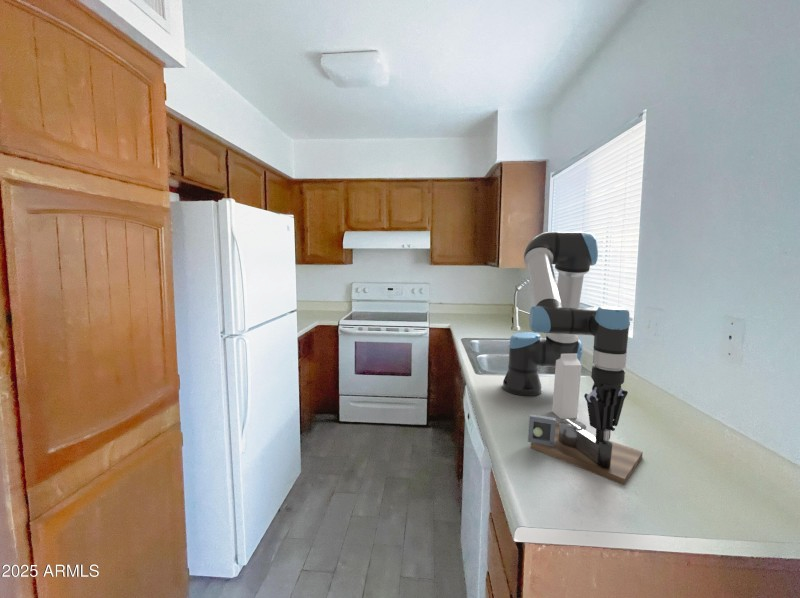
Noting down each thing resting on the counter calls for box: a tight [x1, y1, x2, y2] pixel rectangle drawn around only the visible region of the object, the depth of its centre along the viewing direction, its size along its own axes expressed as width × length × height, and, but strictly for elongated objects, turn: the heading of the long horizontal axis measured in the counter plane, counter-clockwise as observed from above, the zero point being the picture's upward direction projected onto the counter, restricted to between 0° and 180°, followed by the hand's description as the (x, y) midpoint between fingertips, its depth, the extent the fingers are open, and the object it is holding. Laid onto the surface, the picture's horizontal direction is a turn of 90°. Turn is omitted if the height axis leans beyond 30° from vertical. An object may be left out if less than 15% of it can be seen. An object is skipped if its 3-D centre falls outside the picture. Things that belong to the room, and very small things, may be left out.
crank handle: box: [558, 418, 612, 468], centre depth 104 cm, size 18×7×6 cm, turn 13°
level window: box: [527, 413, 557, 447], centre depth 108 cm, size 3×7×8 cm, turn 68°
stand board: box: [530, 422, 644, 486], centre depth 107 cm, size 18×24×2 cm
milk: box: [551, 354, 582, 420], centre depth 130 cm, size 6×6×22 cm
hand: (601, 451), depth 101 cm, fingers closed
